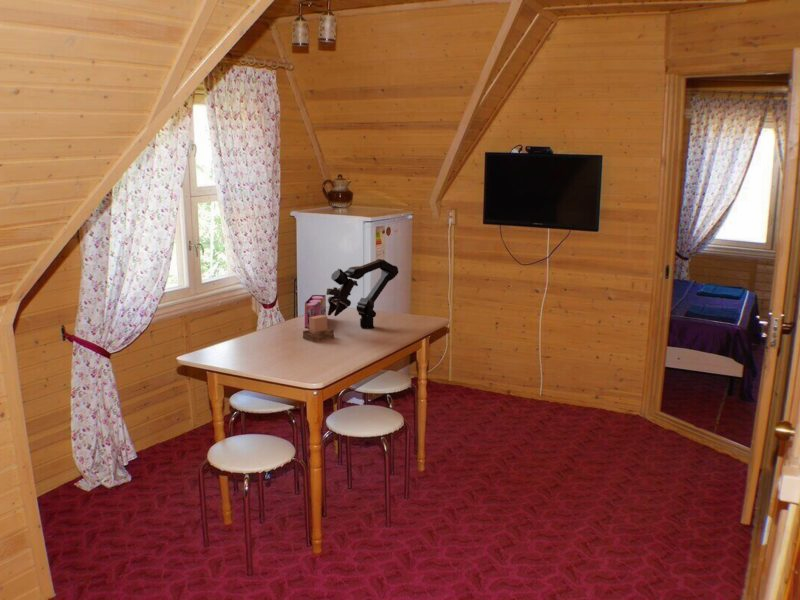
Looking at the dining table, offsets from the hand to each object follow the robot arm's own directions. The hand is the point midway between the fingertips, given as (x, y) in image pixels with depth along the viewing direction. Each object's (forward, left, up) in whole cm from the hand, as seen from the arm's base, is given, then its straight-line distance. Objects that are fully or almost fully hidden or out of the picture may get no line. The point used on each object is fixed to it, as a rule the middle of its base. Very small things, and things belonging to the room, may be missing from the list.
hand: (331, 315), depth 380 cm
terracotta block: (+8, +6, -9) cm, 13 cm away
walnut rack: (+8, +6, -10) cm, 14 cm away
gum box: (+6, -26, -10) cm, 29 cm away
